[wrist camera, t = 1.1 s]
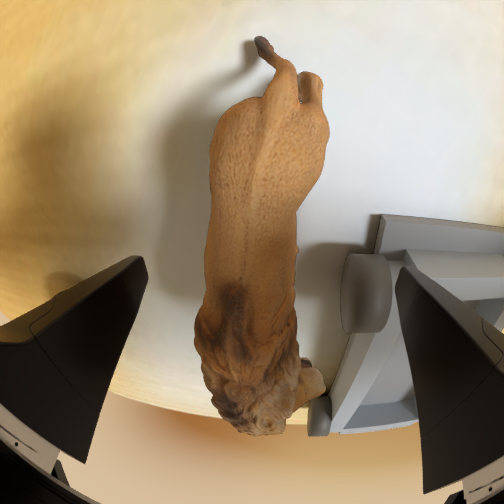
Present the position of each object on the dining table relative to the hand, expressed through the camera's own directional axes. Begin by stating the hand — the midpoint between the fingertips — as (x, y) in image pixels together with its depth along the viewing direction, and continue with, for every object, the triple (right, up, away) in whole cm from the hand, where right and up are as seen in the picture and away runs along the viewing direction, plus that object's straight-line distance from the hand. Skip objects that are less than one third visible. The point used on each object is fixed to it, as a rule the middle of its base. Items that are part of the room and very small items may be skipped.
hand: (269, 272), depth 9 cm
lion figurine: (+1, +3, +4) cm, 6 cm away
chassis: (+12, -7, +9) cm, 16 cm away
